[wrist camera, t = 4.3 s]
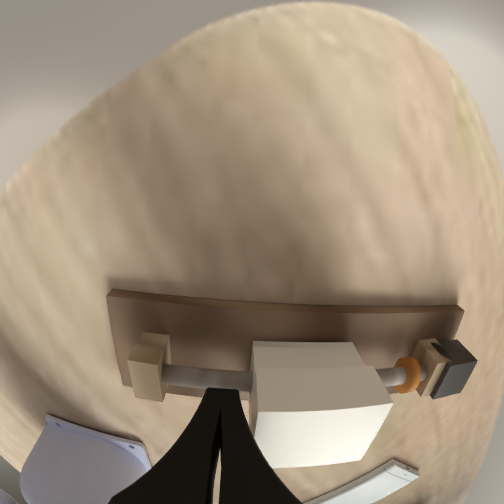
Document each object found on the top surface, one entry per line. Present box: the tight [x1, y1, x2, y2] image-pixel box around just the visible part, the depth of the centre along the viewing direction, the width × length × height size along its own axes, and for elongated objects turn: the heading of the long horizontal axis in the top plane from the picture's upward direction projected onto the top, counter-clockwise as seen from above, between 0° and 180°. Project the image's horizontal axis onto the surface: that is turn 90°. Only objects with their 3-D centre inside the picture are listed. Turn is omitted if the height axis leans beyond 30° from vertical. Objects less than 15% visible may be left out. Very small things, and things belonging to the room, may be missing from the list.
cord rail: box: [106, 289, 478, 402], centre depth 13 cm, size 20×6×4 cm, turn 85°
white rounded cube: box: [249, 341, 394, 468], centre depth 12 cm, size 5×4×5 cm
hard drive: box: [303, 459, 420, 504], centre depth 21 cm, size 2×8×12 cm
